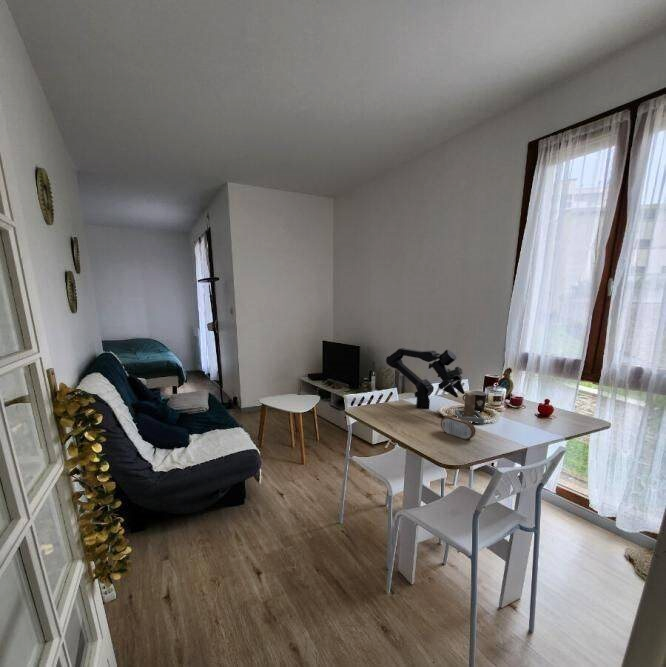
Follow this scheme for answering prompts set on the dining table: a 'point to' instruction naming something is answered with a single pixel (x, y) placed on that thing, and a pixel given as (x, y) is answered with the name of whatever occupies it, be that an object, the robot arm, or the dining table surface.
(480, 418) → the box
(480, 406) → the coffee mug
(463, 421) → the tin
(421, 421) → the dining table surface
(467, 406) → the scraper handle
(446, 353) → the robot arm
